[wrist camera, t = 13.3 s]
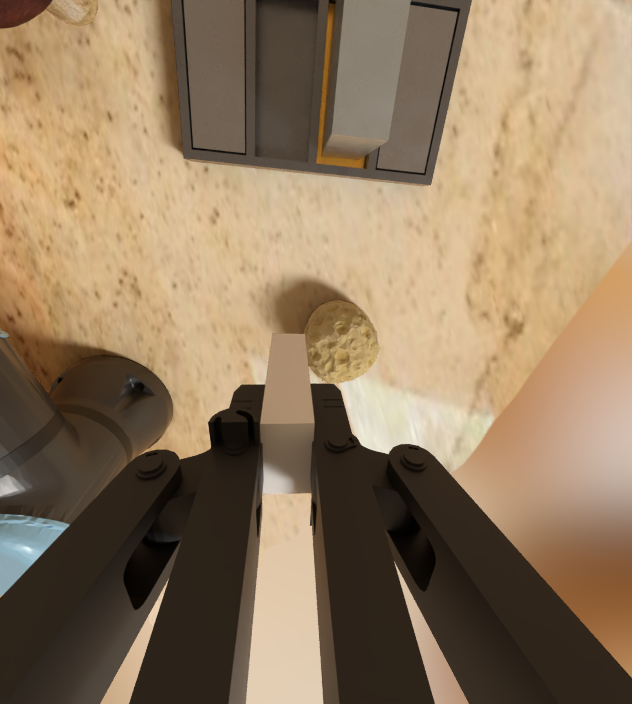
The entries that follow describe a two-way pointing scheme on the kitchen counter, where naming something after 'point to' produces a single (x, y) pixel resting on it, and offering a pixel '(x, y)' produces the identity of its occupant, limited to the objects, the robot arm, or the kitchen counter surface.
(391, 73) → the panel
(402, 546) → the robot arm
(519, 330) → the kitchen counter surface
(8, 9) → the decorative mushroom
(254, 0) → the rack
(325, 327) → the decorative item
